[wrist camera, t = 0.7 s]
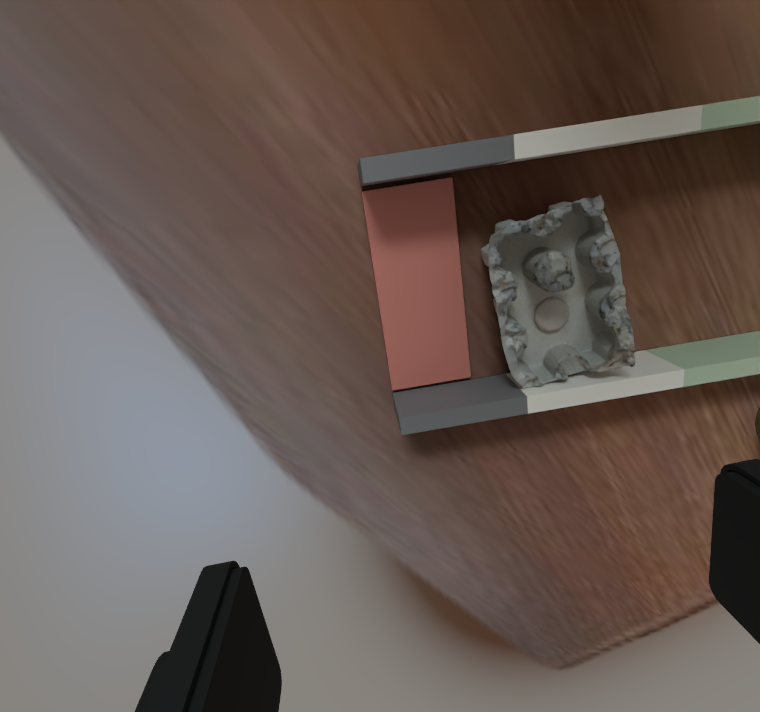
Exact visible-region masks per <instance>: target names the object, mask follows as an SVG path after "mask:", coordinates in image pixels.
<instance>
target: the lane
mask: <svg viewBox="0 0 760 712" xmlns="http://www.w3.org/2000/svg"><path fill="white" fill-rule="evenodd" d="M753 124H760V96H756V97H750V98H743V99H737V100H730V101H724V102H718V103H711V104H705V105H699V106H692V107H686V108H679V109H673V110H667V111H660V112H654V113H647V114H641V115H635V116H628V117H622V118H616V119H609V120H603V121H596V122H590V123H584V124H577V125H571V126H564V127H558V128H552V129H545V130H539V131H533V132H526V133H520V134H513V135H507V136H501V137H494V138H488V139H481V140H475V141H469V142H462V143H456V144H450V145H443V146H437V147H430V148H424V149H418V150H411V151H405V152H398V153H392V154H386V155H379V156H373V157H367V158H360V159H359V162H358V171H359V178H360V184H361V186H367V185H374V184H380V183H386V182H393V181H399V180H405V179H412V178H418V177H424V176H431V175H437V174H443V173H450V172H456V171H462V170H469V169H475V168H481V167H488V166H494V165H500V164H507V163H513V162H519V161H526V160H532V159H538V158H545V157H551V156H557V155H564V154H570V153H576V152H582V151H589V150H595V149H601V148H608V147H614V146H620V145H627V144H633V143H639V142H646V141H652V140H658V139H665V138H671V137H677V136H684V135H690V134H696V133H703V132H709V131H715V130H722V129H728V128H734V127H741V126H747V125H753ZM362 197H363V204H364V210H365V217H366V223H367V230H368V236H369V243H370V249H371V256H372V262H373V269H374V275H375V282H376V288H377V295H378V301H379V308H380V314H381V321H382V327H383V334H384V340H385V347H386V353H387V360H388V366H389V373H390V379H391V386H392V390H398V389H404V388H410V387H416V386H422V385H428V384H434V383H440V382H446V381H452V380H457V379H463V378H469V377H471V372H470V361H469V350H468V339H467V329H466V318H465V307H464V296H463V285H462V275H461V264H460V253H459V242H458V232H457V221H456V210H455V199H454V188H453V178H452V177H451V178H445V179H438V180H432V181H426V182H420V183H413V184H407V185H401V186H394V187H388V188H382V189H375V190H369V191H363V192H362ZM634 356H635V360H636V362H635V365H634V367H629V366H624V367H618V368H615V369H611V370H607V371H602V372H588V371H582V372H578V373H575V374H571V375H568V379H565V380H555V381H551V382H547V383H544V384H543V385H542V386H534V387H528V388H523V387H522V386H521V385H520V384H519V383H518V382H517V381H516V380H515V379H514V378H513V376H512V375H511V373H507V374H501V375H495V376H489V377H483V378H477V379H471V380H465V381H459V382H453V383H447V384H442V385H436V386H430V387H424V388H418V389H412V390H406V391H400V392H394V393H393V399H394V405H395V410H396V414H397V418H398V422H399V426H400V430H401V434H402V435H407V434H412V433H418V432H424V431H430V430H436V429H442V428H447V427H453V426H459V425H465V424H471V423H477V422H482V421H488V420H494V419H500V418H506V417H512V416H517V415H523V414H529V413H535V412H541V411H546V410H552V409H558V408H564V407H570V406H576V405H581V404H587V403H593V402H599V401H605V400H611V399H616V398H622V397H628V396H634V395H640V394H646V393H651V392H657V391H663V390H669V389H675V388H681V387H686V386H692V385H698V384H704V383H710V382H716V381H721V380H727V379H733V378H739V377H745V376H750V375H756V374H760V331H755V332H749V333H743V334H737V335H731V336H725V337H719V338H713V339H707V340H702V341H696V342H690V343H684V344H678V345H672V346H666V347H660V348H654V349H648V350H642V351H637V352H635V353H634Z"/></svg>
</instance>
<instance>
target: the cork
mask: <svg viewBox="0 0 760 712" xmlns="http://www.w3.org/2000/svg"><path fill="white" fill-rule="evenodd" d="M756 429H757V434H758V435H759V437H760V408H759V410H758V413H757V418H756Z"/></svg>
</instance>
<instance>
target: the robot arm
mask: <svg viewBox="0 0 760 712" xmlns="http://www.w3.org/2000/svg"><path fill="white" fill-rule="evenodd" d="M709 584H710V588H711V590H712V592H713V594H714V596H715V597H716V599H717V600H718V601H719V602H720V604H721V605H722V606H723V607H724V608H725V609H726V610H727V611H728V612H729V613H730V614H731V615H732V616H733V617H734V618H735V619H736V620H737V621H738V622H739V623H740V624H741V625H742V626H743V627H744V628H745V629H746V630H747V631H748V632H749V633H750V634H751V635H752V636H753V638H754V639H755V640H756V641H757V642H758V643H759V644H760V460H758V459H753V460H747V461H742V462H737V463H732V464H728V465H725V466H724V467H723V468H722V469H721V473H720V474H719V475H717V477H716V479H715V491H714V507H713V523H712V539H711V556H710V572H709ZM281 685H282V680H281V670H280V666H279V663H278V659H277V656H276V653H275V650H274V647H273V644H272V641H271V638H270V634H269V631H268V628H267V625H266V622H265V619H264V616H263V613H262V610H261V607H260V603H259V600H258V597H257V594H256V591H255V588H254V585H253V581H252V578H251V575H250V572H249V570H248V568H247V567H241V568H240V567H239V565H238V563H237V562H236V561H230V562H226V563H220V564H215V565H210V566H206V567H204V568H203V570H202V572H201V574H200V576H199V579H198V581H197V584H196V586H195V589H194V591H193V594H192V596H191V599H190V601H189V604H188V606H187V609H186V611H185V614H184V616H183V619H182V622H181V624H180V626H179V629H178V632H177V634H176V636H175V639H174V641H173V644H172V646H171V649H170V651H168V652H164V653H163V654H162V655H161V656H160V657H159V658H158V660H157V662H156V663H155V665H154V667H153V670H152V672H151V674H150V677H149V679H148V681H147V684H146V686H145V689H144V691H143V693H142V696H141V698H140V700H139V703H138V705H137V708H136V710H135V712H278V710H279V703H280V695H281Z"/></svg>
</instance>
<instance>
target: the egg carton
mask: <svg viewBox="0 0 760 712" xmlns="http://www.w3.org/2000/svg"><path fill="white" fill-rule="evenodd" d="M548 209H549V212H548V213H546V214H541V215H538V216H535V217H533V218H531V219H528V220H526V221H522V220H520V221H513V220H510V219H508V220H505V221H502V222H499V223H497V224H495V233H494V234H493V235H491V237H490V239H489V244H488V245H486V246H485V247H483V248H481V255H482V258H483V262H484V264H485V265H487V266H488V267H489V274H490V280H491V282H492V292H493V295H494V297H495V298H494V299H493V303H494V307H495V311H496V313H497V316H498V321H499V326H500V332H501V340H502V346H503V350H504V353H505V356H506V360H507V363H508V366H509V369H510V372H511V375H512V376H513V378H514V379H515V380H516V381H517V382H518V383H519V384H520V385H521V386H522V387H523V388H528V387H534V386H542V385H543V384H544V383H547V382H551V381H555V380H565V379H568V375H571V374H575V373H578V372H582V371H588V372H602V371H607V370H611V369H615V368H618V367H624V366H629V367H634V365H635V362H636V360H635V356H634V353H635V344H634V340H633V337H634V333H633V329H632V324H631V319H630V317H629V315H628V314H627V310H626V290H625V287H624V285H623V280H622V271H621V265H620V252H619V250H618V247H617V244H616V241H615V238H614V235H613V233H612V231H611V228H610V225H609V222H608V219H607V217H606V215H605V213H604V211H603V209H604V202H603V199H602V197H601V195H599V196H597V197H593V198H583V199H580V200H577V201H575V202H573V203H571V202H566V201H563V202H559V203H557V204H554V205H550V206H549V208H548Z"/></svg>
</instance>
